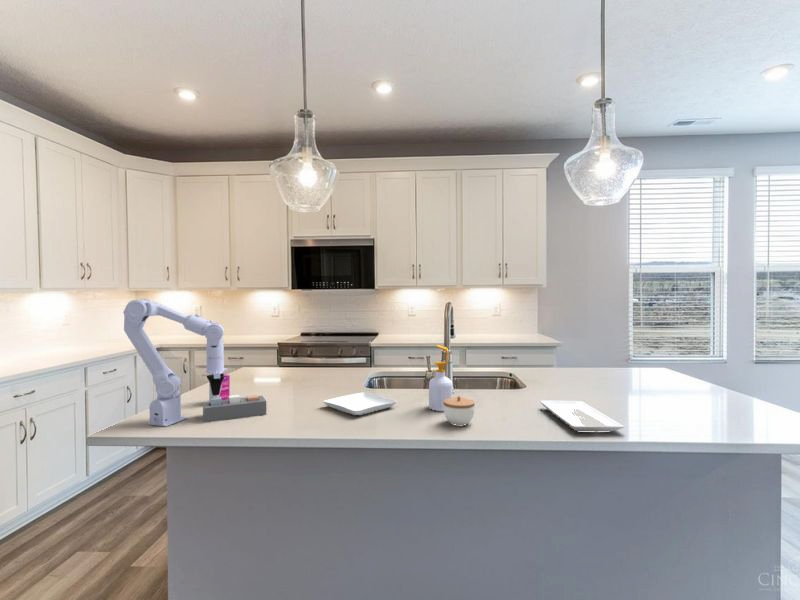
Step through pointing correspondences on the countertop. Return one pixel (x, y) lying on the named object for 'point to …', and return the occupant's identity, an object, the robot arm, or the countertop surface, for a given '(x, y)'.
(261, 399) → the grey socket block
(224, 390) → the supplement box
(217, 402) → the slate key
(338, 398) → the salad plate
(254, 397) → the terracotta key
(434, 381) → the soap bottle
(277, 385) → the countertop surface
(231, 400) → the white key
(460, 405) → the lidded jar
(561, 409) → the tray
